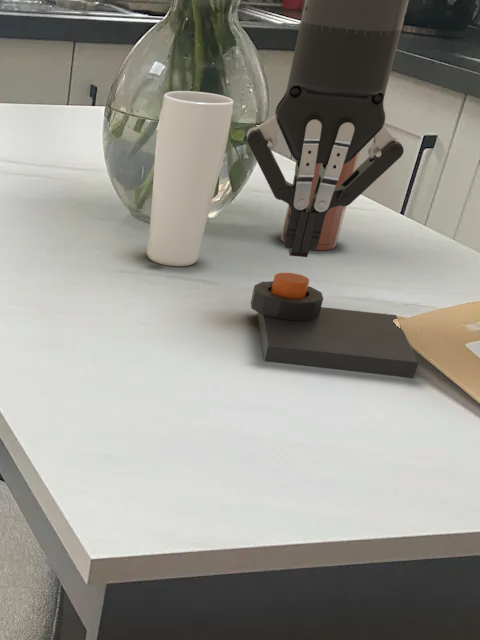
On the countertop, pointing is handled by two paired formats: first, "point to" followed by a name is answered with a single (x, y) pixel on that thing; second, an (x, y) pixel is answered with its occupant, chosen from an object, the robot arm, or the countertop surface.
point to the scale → (330, 335)
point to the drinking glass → (186, 173)
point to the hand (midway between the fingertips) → (297, 254)
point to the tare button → (290, 285)
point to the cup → (334, 214)
